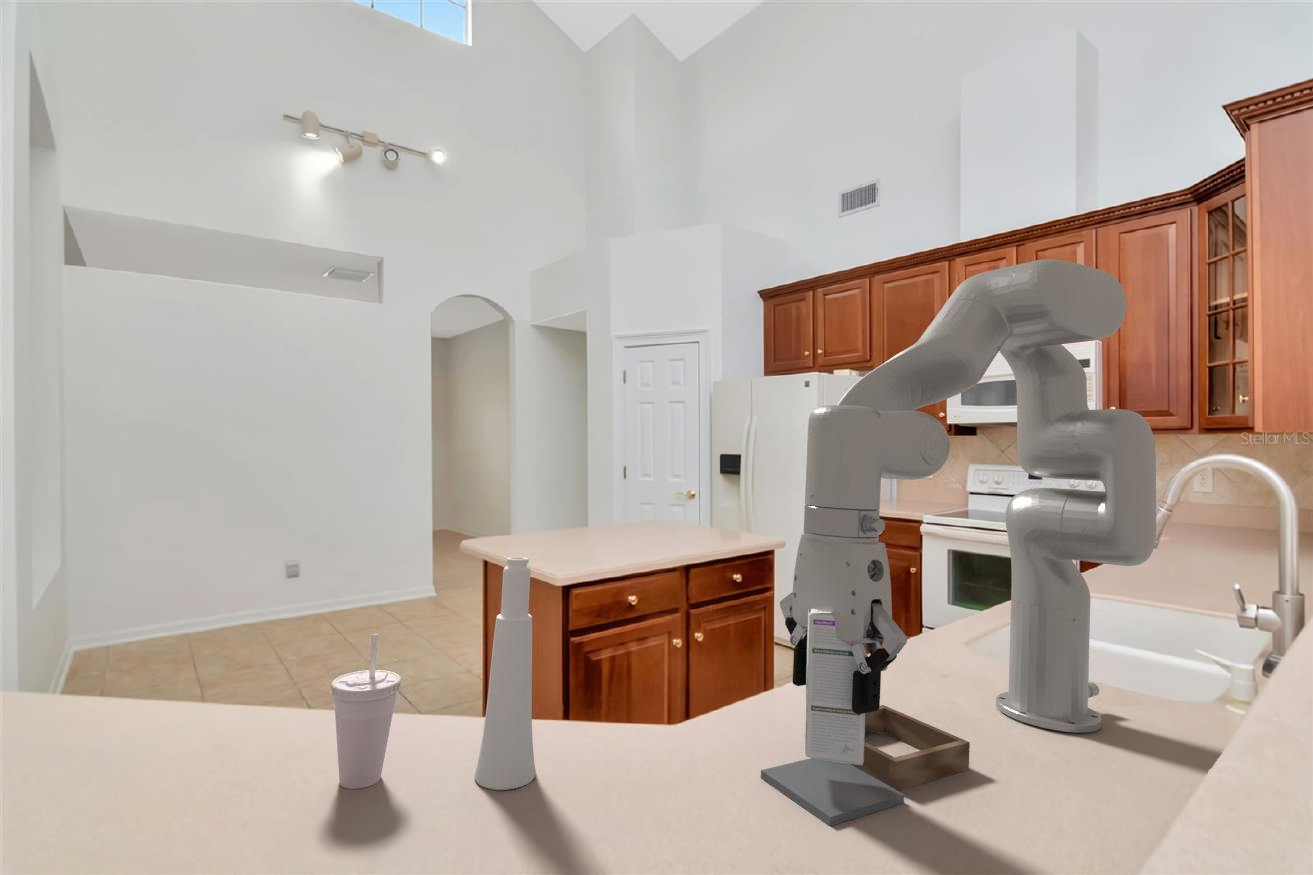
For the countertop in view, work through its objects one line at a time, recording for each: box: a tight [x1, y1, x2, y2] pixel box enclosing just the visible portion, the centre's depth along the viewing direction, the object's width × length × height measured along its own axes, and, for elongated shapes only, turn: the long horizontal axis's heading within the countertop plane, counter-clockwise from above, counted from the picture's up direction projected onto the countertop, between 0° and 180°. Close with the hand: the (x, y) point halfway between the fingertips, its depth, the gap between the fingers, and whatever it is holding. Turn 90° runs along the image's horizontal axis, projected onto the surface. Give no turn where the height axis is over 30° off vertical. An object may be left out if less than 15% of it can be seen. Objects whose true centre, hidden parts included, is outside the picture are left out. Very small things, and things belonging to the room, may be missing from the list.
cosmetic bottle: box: [474, 556, 537, 791], centre depth 67 cm, size 6×6×22 cm
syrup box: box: [804, 609, 867, 765], centre depth 67 cm, size 6×6×14 cm
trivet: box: [760, 758, 905, 827], centre depth 67 cm, size 10×10×1 cm
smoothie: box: [329, 633, 402, 790], centre depth 65 cm, size 6×6×14 cm
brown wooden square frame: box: [851, 704, 971, 792], centre depth 76 cm, size 12×12×3 cm
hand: (833, 696), depth 67 cm, fingers closed on syrup box, 7 cm apart
